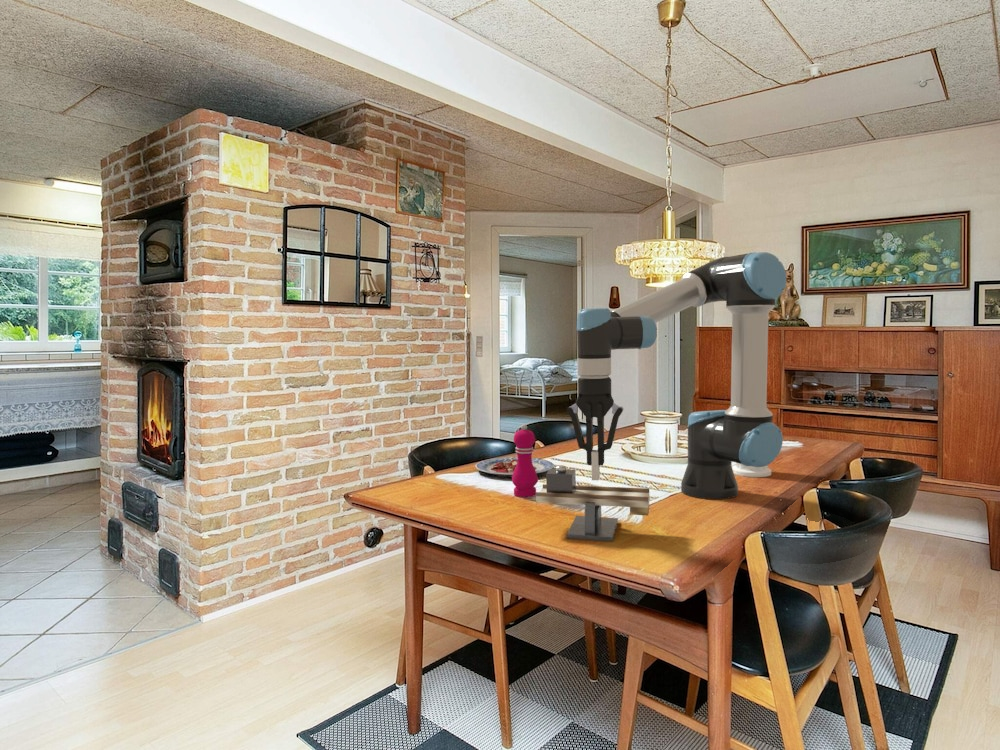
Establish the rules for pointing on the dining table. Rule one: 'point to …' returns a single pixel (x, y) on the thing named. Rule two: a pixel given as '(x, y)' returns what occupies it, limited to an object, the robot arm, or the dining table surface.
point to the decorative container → (751, 470)
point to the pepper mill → (524, 464)
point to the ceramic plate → (510, 466)
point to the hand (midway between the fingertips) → (595, 478)
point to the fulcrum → (593, 525)
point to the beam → (601, 497)
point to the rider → (561, 480)
